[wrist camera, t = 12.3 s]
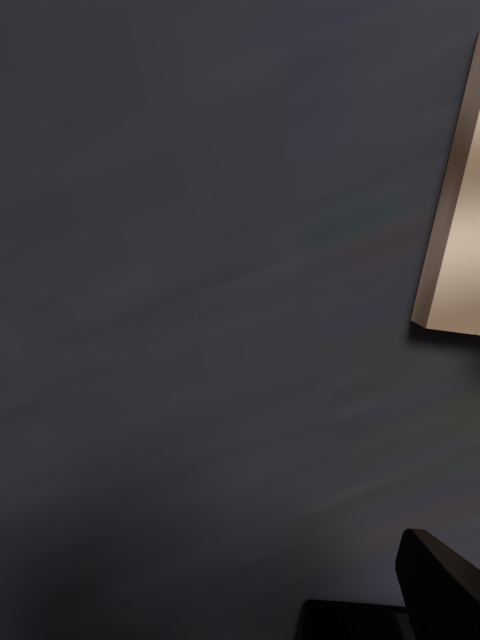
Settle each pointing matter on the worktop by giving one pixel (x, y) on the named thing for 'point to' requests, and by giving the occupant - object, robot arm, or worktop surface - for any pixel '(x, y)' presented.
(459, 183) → the pin board
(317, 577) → the worktop surface
